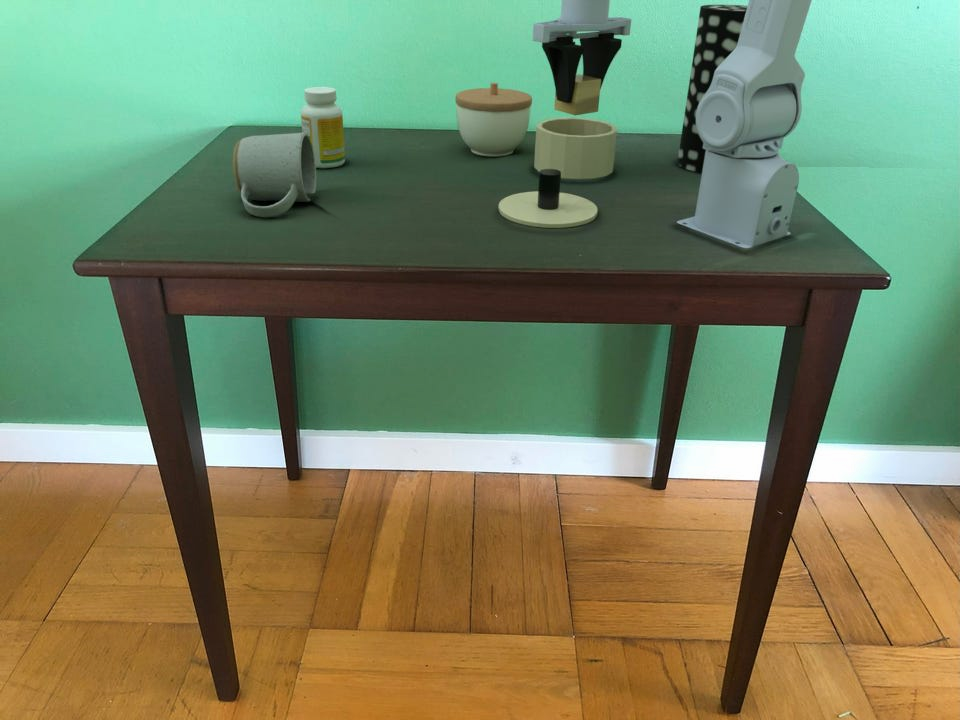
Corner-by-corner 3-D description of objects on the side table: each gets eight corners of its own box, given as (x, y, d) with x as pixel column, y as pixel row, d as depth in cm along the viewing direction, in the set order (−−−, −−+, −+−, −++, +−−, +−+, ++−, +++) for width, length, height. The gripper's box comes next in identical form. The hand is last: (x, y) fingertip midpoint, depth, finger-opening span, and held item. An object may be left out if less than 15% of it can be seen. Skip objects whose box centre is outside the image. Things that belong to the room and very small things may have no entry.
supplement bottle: (298, 167, 102) (291, 92, 97) (314, 156, 107) (308, 84, 102) (337, 170, 101) (331, 94, 96) (351, 159, 106) (346, 86, 101)
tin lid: (617, 220, 87) (622, 176, 84) (541, 240, 81) (544, 193, 78) (552, 194, 94) (554, 152, 92) (478, 211, 88) (479, 167, 86)
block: (598, 111, 98) (601, 79, 96) (575, 115, 96) (578, 82, 94) (576, 106, 101) (579, 74, 99) (554, 109, 99) (556, 76, 97)
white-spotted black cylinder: (716, 177, 102) (745, 12, 92) (665, 163, 107) (687, 6, 97) (750, 166, 107) (781, 9, 97) (700, 154, 112) (724, 3, 102)
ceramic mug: (251, 188, 94) (242, 124, 90) (319, 189, 94) (313, 125, 90) (228, 219, 85) (217, 150, 81) (302, 220, 85) (295, 151, 81)
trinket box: (523, 163, 106) (526, 93, 101) (447, 157, 107) (447, 88, 103) (534, 144, 115) (537, 78, 110) (464, 139, 117) (464, 74, 112)
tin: (628, 174, 102) (633, 129, 99) (570, 187, 97) (574, 140, 94) (575, 156, 109) (578, 114, 106) (518, 168, 104) (520, 123, 101)
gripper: (607, -24, 98) (596, 88, 104) (518, -21, 90) (513, 99, 97) (648, -20, 93) (634, 97, 99) (558, -16, 85) (550, 110, 92)
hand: (577, 99), depth 98 cm, fingers closed on block, 4 cm apart
